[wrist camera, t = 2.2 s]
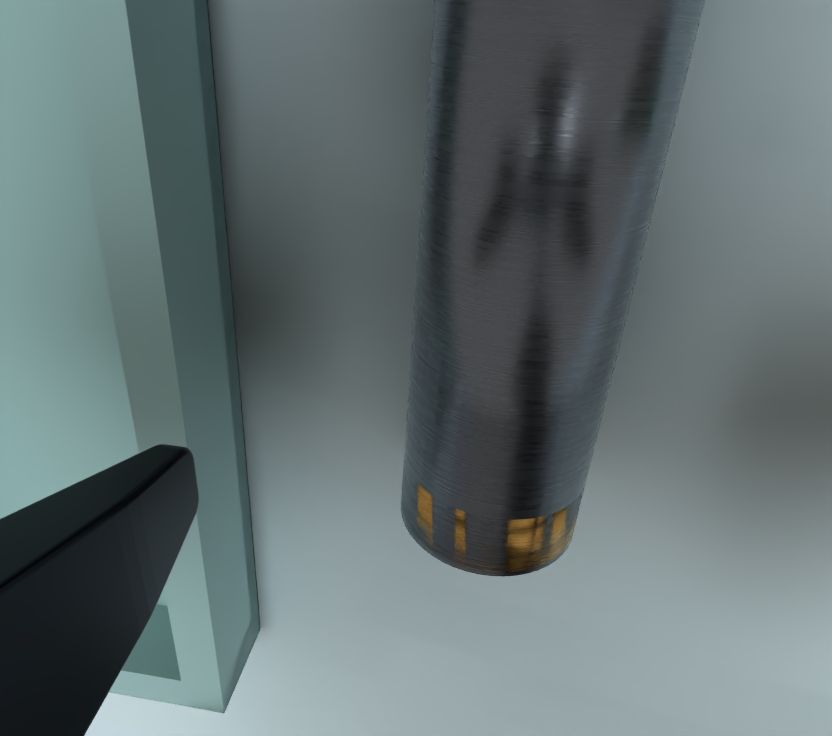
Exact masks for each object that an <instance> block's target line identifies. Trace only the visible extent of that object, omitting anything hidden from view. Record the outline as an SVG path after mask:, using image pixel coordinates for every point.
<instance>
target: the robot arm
mask: <svg viewBox="0 0 832 736" xmlns="http://www.w3.org/2000/svg"><path fill="white" fill-rule="evenodd" d="M198 503H199V493H198V485H197V478H196V470H195V463H194V457H193V454H192V452H191V450H190V449H188V448H186V447H181V446H174V445H167V444H158V445H156V446H153V447H151V448H149V449H147V450H145V451H143V452H141V453H138V454H136V455H134V456H132V457H130V458H128V459H126V460H124V461H122V462H119V463H117V464H115V465H113V466H111V467H109V468H107V469H105V470H103V471H100V472H98V473H96V474H94V475H92V476H90V477H88V478H86V479H83V480H81V481H79V482H77V483H75V484H73V485H71V486H69V487H67V488H64V489H62V490H60V491H58V492H56V493H54V494H52V495H50V496H48V497H45V498H43V499H41V500H39V501H37V502H35V503H33V504H31V505H28V506H26V507H24V508H22V509H20V510H18V511H16V512H14V513H11V514H9V515H7V516H5V517H3V518H1V519H0V736H84V735H85V733H86V731H87V730H88V728H89V726H90V724H91V723H92V721H93V719H94V717H95V716H96V714H97V712H98V710H99V708H100V707H101V705H102V703H103V701H104V700H105V698H106V696H107V694H108V693H109V691H110V689H111V687H112V686H113V684H114V682H115V680H116V678H117V677H118V675H119V673H120V671H121V670H122V668H123V666H124V664H125V663H126V661H127V659H128V657H129V656H130V654H131V652H132V650H133V648H134V647H135V645H136V643H137V641H138V640H139V638H140V636H141V634H142V632H143V631H144V629H145V627H146V625H147V623H148V621H149V619H150V618H151V615H152V613H153V611H154V609H155V607H156V605H157V603H158V600H159V598H160V596H161V594H162V591H163V589H164V587H165V584H166V582H167V580H168V577H169V575H170V573H171V571H172V568H173V566H174V564H175V561H176V559H177V557H178V554H179V552H180V550H181V547H182V545H183V543H184V541H185V538H186V536H187V534H188V531H189V529H190V527H191V524H192V522H193V520H194V517H195V515H196V512H197V509H198Z"/></svg>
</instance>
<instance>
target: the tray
mask: <svg viewBox="0 0 832 736" xmlns="http://www.w3.org/2000/svg"><path fill="white" fill-rule="evenodd" d="M158 444H167V445H174V446H181V447H186V448H188V449H190V450H191V452H192V454H193V457H194V463H195V470H196V478H197V485H198V493H199V503H198V509H197V512H196V515H195V517H194V520H193V522H192V524H191V527H190V529H189V531H188V534H187V536H186V538H185V541H184V543H183V545H182V547H181V550H180V552H179V554H178V557H177V559H176V561H175V564H174V566H173V568H172V571H171V573H170V575H169V577H168V580H167V582H166V584H165V587H164V589H163V591H162V594H161V596H160V598H159V600H158V603H157V605H156V607H155V609H154V611H153V613H152V615H151V618H150V619H149V621H148V623H147V625H146V627H145V629H144V631H143V632H142V634H141V636H140V638H139V640H138V641H137V643H136V645H135V647H134V648H133V650H132V652H131V654H130V656H129V657H128V659H127V661H126V663H125V664H124V666H123V668H122V670H121V671H120V673H119V675H118V677H117V678H116V680H115V682H114V684H113V686H112V687H111V689H110V691H109V692H110V693H116V694H121V695H127V696H132V697H138V698H143V699H149V700H154V701H160V702H165V703H171V704H177V705H182V706H188V707H193V708H199V709H204V710H210V711H215V712H221V713H224V712H225V710H226V708H227V705H228V703H229V701H230V698H231V696H232V694H233V691H234V689H235V687H236V684H237V682H238V680H239V677H240V675H241V673H242V670H243V668H244V666H245V663H246V661H247V659H248V656H249V654H250V652H251V649H252V647H253V645H254V642H255V640H256V638H257V635H258V633H259V631H260V623H259V611H258V599H257V587H256V576H255V564H254V552H253V540H252V528H251V516H250V505H249V493H248V481H247V469H246V457H245V445H244V434H243V422H242V410H241V398H240V386H239V374H238V363H237V351H236V339H235V327H234V315H233V303H232V292H231V280H230V268H229V256H228V244H227V232H226V221H225V209H224V197H223V185H222V173H221V161H220V150H219V138H218V126H217V114H216V102H215V90H214V79H213V67H212V55H211V43H210V31H209V19H208V8H207V0H0V519H1V518H3V517H5V516H7V515H9V514H11V513H14V512H16V511H18V510H20V509H22V508H24V507H26V506H28V505H31V504H33V503H35V502H37V501H39V500H41V499H43V498H45V497H48V496H50V495H52V494H54V493H56V492H58V491H60V490H62V489H64V488H67V487H69V486H71V485H73V484H75V483H77V482H79V481H81V480H83V479H86V478H88V477H90V476H92V475H94V474H96V473H98V472H100V471H103V470H105V469H107V468H109V467H111V466H113V465H115V464H117V463H119V462H122V461H124V460H126V459H128V458H130V457H132V456H134V455H136V454H138V453H141V452H143V451H145V450H147V449H149V448H151V447H153V446H156V445H158Z"/></svg>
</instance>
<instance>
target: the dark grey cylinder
mask: <svg viewBox="0 0 832 736" xmlns="http://www.w3.org/2000/svg"><path fill="white" fill-rule="evenodd" d="M704 1H705V0H435V12H434V26H433V41H432V56H431V71H430V85H429V100H428V115H427V130H426V144H425V159H424V174H423V189H422V203H421V218H420V233H419V248H418V262H417V277H416V292H415V307H414V321H413V336H412V351H411V366H410V380H409V395H408V410H407V425H406V439H405V454H404V469H403V484H402V498H401V512H402V518H403V521H404V523H405V526H406V528H407V530H408V531H409V533H410V535H411V536H412V537H413V538H414V540H415V541H416V542H417V543H418V544H419V545H420V546H421V547H422V548H423V549H424V550H426V551H427V552H428V553H430V554H431V555H432V556H434V557H436V558H437V559H439V560H441V561H442V562H444V563H446V564H449V565H451V566H453V567H456V568H458V569H461V570H464V571H468V572H472V573H476V574H482V575H489V576H514V575H521V574H526V573H530V572H533V571H537V570H539V569H541V568H544V567H546V566H548V565H549V564H551V563H553V562H554V561H556V560H557V559H558V558H559V557H560V556H561V555H562V554H563V553H564V552H565V550H566V549H567V548H568V546H569V544H570V541H571V539H572V535H573V531H574V527H575V523H576V519H577V514H578V510H579V506H580V502H581V498H582V494H583V490H584V486H585V482H586V478H587V474H588V470H589V466H590V462H591V458H592V454H593V450H594V446H595V442H596V438H597V434H598V430H599V426H600V422H601V417H602V413H603V409H604V405H605V401H606V397H607V393H608V389H609V385H610V381H611V377H612V373H613V369H614V365H615V361H616V357H617V353H618V349H619V345H620V341H621V337H622V333H623V329H624V325H625V321H626V316H627V312H628V308H629V304H630V300H631V296H632V292H633V288H634V284H635V280H636V276H637V272H638V268H639V264H640V260H641V256H642V252H643V248H644V244H645V240H646V236H647V232H648V228H649V224H650V219H651V215H652V211H653V207H654V203H655V199H656V195H657V191H658V187H659V183H660V179H661V175H662V171H663V167H664V163H665V159H666V155H667V151H668V147H669V143H670V139H671V135H672V131H673V127H674V122H675V118H676V114H677V110H678V106H679V102H680V98H681V94H682V90H683V86H684V82H685V78H686V74H687V70H688V66H689V62H690V58H691V54H692V50H693V46H694V42H695V38H696V34H697V30H698V25H699V21H700V17H701V13H702V9H703V5H704Z"/></svg>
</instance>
